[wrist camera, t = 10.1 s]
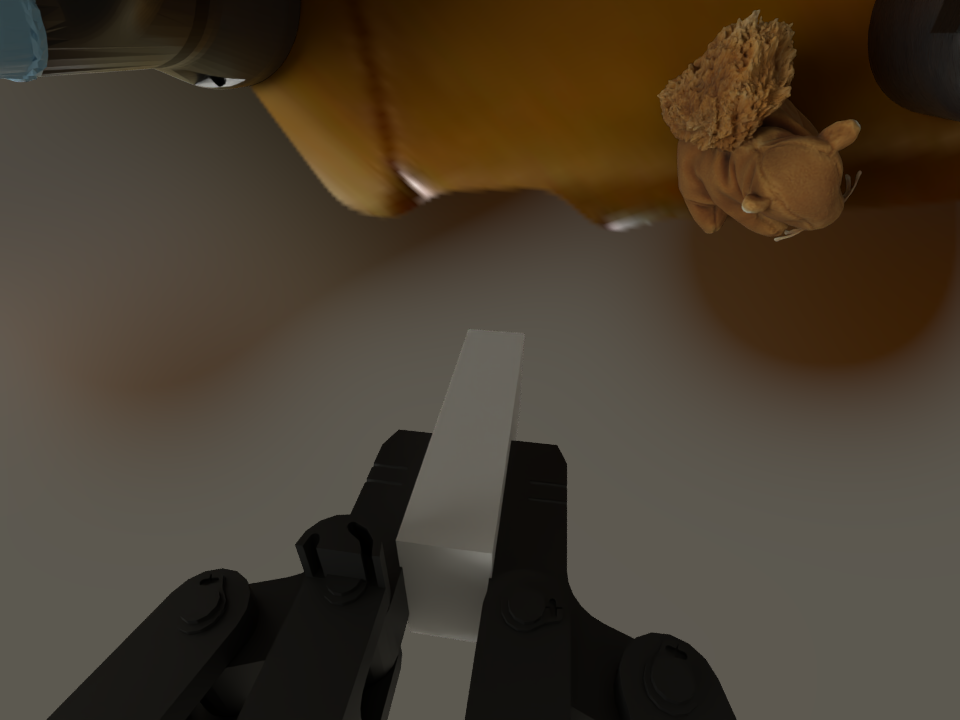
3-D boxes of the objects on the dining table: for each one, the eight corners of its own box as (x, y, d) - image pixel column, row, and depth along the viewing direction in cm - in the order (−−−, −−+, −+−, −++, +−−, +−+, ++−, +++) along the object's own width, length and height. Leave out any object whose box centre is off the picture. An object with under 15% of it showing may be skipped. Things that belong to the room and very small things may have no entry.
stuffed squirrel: (706, 238, 42) (755, 307, 31) (615, 101, 37) (635, 125, 26) (829, 160, 37) (936, 208, 26) (742, -8, 33) (829, -33, 22)
